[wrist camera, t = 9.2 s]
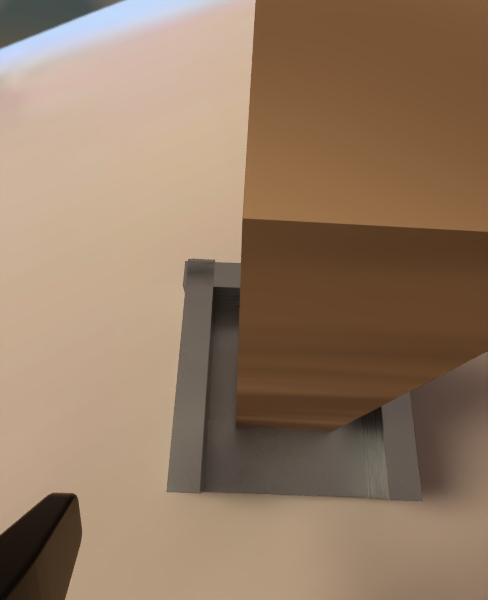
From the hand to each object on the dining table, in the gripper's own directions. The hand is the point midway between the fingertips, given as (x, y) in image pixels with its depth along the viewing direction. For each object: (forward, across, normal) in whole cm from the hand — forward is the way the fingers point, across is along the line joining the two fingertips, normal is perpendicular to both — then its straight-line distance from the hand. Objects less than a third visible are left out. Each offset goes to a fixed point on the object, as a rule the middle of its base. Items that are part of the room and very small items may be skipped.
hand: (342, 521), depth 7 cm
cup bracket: (+10, 0, +4) cm, 10 cm away
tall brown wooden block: (+9, 0, +3) cm, 10 cm away
